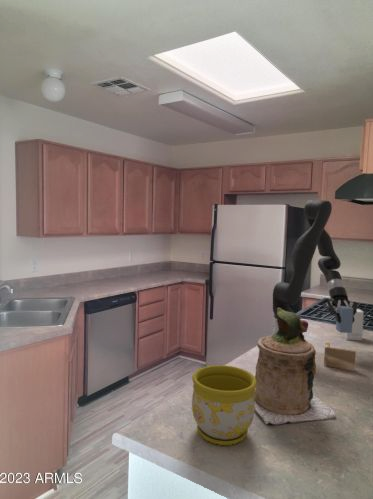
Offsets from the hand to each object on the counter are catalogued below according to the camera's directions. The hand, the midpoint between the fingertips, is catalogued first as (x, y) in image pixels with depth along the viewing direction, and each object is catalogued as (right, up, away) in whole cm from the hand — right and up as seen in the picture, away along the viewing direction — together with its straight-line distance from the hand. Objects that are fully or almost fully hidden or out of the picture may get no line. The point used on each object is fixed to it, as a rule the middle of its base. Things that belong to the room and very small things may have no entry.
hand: (346, 322), depth 164 cm
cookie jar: (-39, -19, -41) cm, 60 cm away
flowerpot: (-62, -20, -60) cm, 88 cm away
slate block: (0, -5, +2) cm, 5 cm away
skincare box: (+17, -15, +31) cm, 38 cm away
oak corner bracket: (-5, -17, -5) cm, 19 cm away
